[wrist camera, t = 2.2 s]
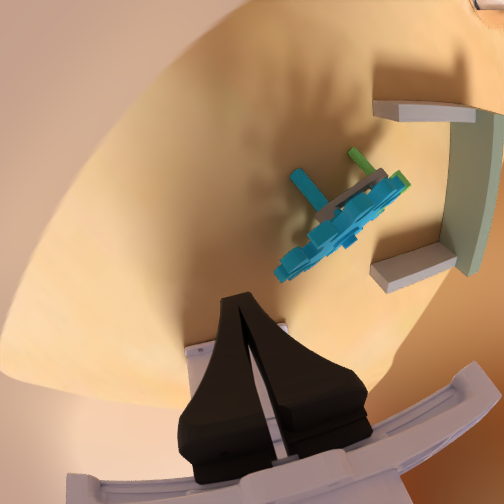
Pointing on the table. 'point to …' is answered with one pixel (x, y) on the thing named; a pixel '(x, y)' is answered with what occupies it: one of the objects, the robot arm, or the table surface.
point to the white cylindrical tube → (490, 12)
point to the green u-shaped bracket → (451, 191)
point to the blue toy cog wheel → (340, 214)
